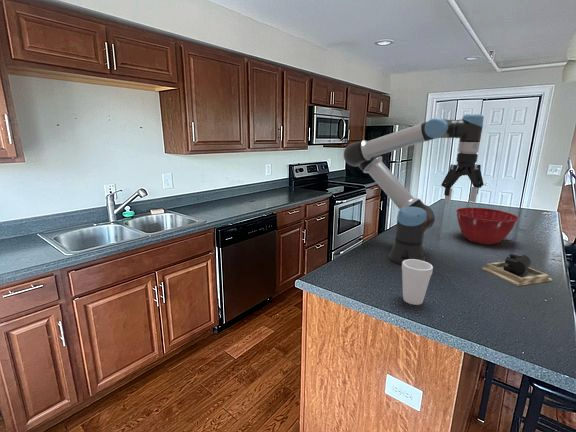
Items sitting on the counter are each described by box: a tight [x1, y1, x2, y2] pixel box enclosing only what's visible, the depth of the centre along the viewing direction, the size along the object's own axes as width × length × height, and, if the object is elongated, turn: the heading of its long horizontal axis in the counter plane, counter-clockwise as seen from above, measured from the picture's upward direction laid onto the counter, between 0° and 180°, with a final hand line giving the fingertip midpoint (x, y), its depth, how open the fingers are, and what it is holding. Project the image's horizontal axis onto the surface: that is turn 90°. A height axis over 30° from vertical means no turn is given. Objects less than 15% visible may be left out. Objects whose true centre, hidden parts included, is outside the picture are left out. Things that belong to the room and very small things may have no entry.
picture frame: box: [481, 261, 553, 287], centre depth 130 cm, size 18×16×2 cm
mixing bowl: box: [455, 207, 519, 246], centre depth 171 cm, size 28×28×15 cm
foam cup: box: [401, 259, 434, 306], centre depth 107 cm, size 10×9×13 cm
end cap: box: [504, 253, 532, 276], centre depth 129 cm, size 10×7×7 cm
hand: (459, 202), depth 138 cm, fingers open, 13 cm apart
